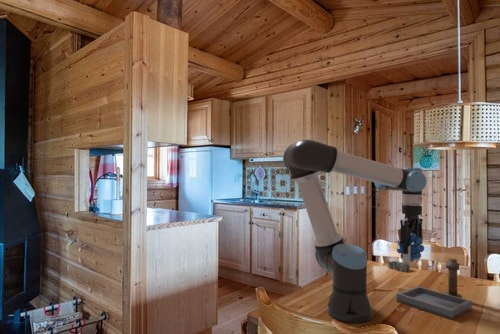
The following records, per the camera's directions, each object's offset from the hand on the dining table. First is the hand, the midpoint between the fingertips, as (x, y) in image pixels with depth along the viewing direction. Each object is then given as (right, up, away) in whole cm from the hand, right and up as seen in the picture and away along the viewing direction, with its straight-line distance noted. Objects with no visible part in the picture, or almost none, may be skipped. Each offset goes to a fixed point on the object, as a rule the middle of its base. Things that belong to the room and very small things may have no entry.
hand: (411, 260), depth 135 cm
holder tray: (+3, -14, -10) cm, 18 cm away
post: (+15, -14, -3) cm, 21 cm away
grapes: (0, -1, 0) cm, 1 cm away
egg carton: (+13, -16, +39) cm, 44 cm away
